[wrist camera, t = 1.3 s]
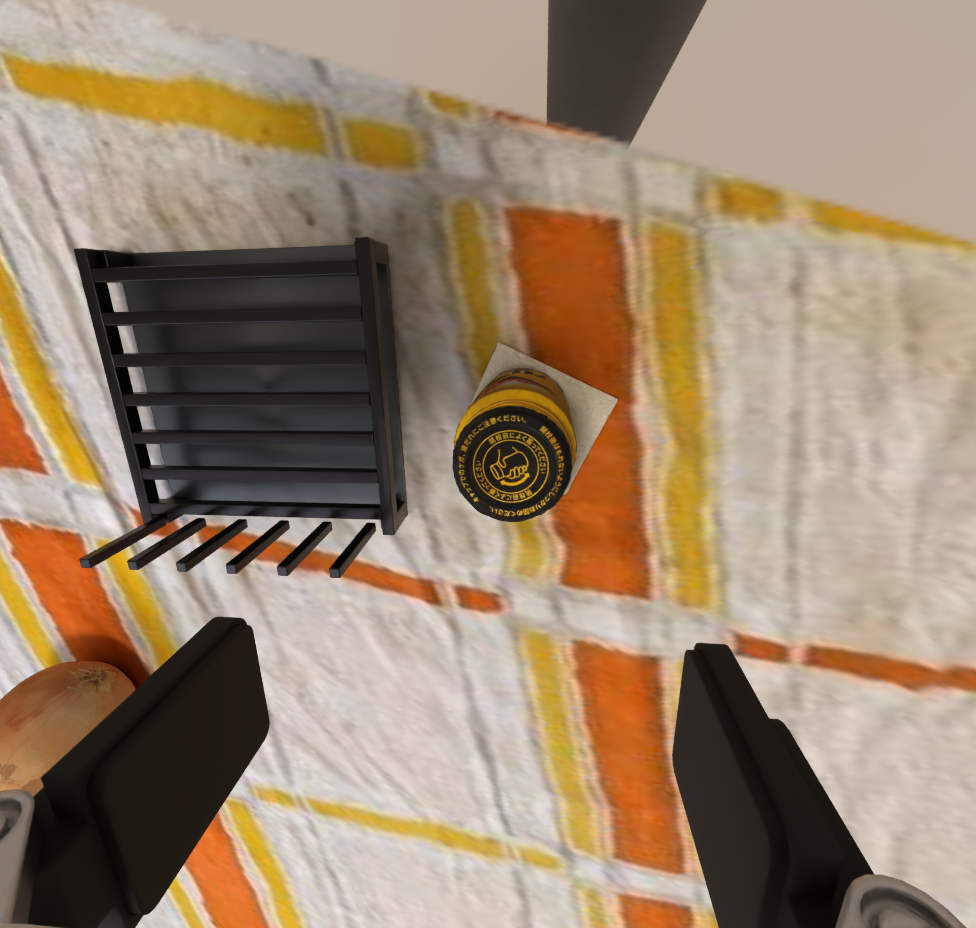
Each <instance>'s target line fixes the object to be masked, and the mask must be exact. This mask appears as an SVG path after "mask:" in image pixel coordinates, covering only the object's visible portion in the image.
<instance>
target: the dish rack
mask: <svg viewBox="0 0 976 928" xmlns="http://www.w3.org/2000/svg"><path fill="white" fill-rule="evenodd" d="M354 244H355V245H347V246H320V247H293V248H266V249H239V250H213V251H186V252H159V253H132V254H131V253H124V252H116V251H109V250H94V249H86V248H81V249H74V253H75V256H76V260H77V264H78V268H79V272H80V276H81V280H82V284H83V288H84V292H85V296H86V299H87V303H88V307H89V311H90V315H91V319H92V323H93V327H94V331H95V335H96V339H97V343H98V346H99V350H100V354H101V358H102V362H103V366H104V370H105V374H106V378H107V382H108V386H109V389H110V393H111V397H112V401H113V405H114V409H115V413H116V417H117V421H118V425H119V429H120V432H121V436H122V440H123V444H124V448H125V452H126V456H127V460H128V464H129V468H130V472H131V476H132V479H133V483H134V487H135V491H136V495H137V499H138V503H139V507H140V511H141V515H142V519H143V522H144V524H143V525H141V526H139V527H138V528H136V529H134V530H132V531H130V532H128V533H126V534H125V535H123V536H121V537H119V538H117V539H115V540H114V541H112V542H110V543H108V544H106V545H104V546H102V547H101V548H99V549H97V550H95V551H93V552H91V553H89V554H88V555H86V556H84V557H82V558H80V559H79V560H80V563H81V566H82V568H92V567H94V566H95V565H97V564H99V563H101V562H102V561H104V560H106V559H108V558H109V557H111V556H113V555H115V554H116V553H118V552H120V551H122V550H123V549H125V548H127V547H129V546H130V545H132V544H134V543H135V542H137V541H139V540H141V539H142V538H144V537H146V536H148V535H149V534H151V533H153V532H155V531H156V530H158V529H160V528H162V527H163V526H165V525H166V523H170V522H172V521H173V520H175V519H177V518H178V517H180V516H182V515H184V514H190V515H227V516H265V517H303V518H341V519H379V520H381V528H382V529H383V535H395V533H396V532H397V530H398V528H399V527H400V525H401V524H402V522H403V521H404V519H405V518H406V517H407V515H408V511H407V498H406V484H405V471H404V458H403V445H402V432H401V419H400V406H399V393H398V380H397V366H396V353H395V340H394V327H393V314H392V301H391V288H390V275H389V262H388V249H387V245H386V244H383V243H380V242H378V241H375V240H373V239H371V238H368V237H362V238H355V241H354ZM107 283H122V284H123V288H124V292H125V296H126V301H127V305H128V309H129V312H114V310H113V306H112V302H111V297H110V293H109V289H108V285H107ZM130 325H132V327H133V331H134V335H135V339H136V344H137V348H138V352H139V353H124V351H123V347H122V343H121V339H120V335H119V331H118V326H130ZM127 367H142V370H143V374H144V378H145V383H146V387H147V391H148V392H133V389H132V385H131V380H130V376H129V372H128V368H127ZM137 406H151V408H152V413H153V417H154V421H155V426H156V430H142V426H141V422H140V418H139V414H138V409H137ZM146 444H160V447H161V451H162V456H163V460H164V464H165V465H151V463H150V459H149V455H148V451H147V447H146ZM155 480H168V482H169V486H170V490H171V494H172V497H170V498H168V499H159V496H158V492H157V488H156V484H155ZM204 527H206V520H205V518H197V519H195V520H194V521H192V522H190V523H189V524H187V525H185V526H184V527H182V528H180V529H179V530H177V531H175V532H174V533H172V534H171V535H169V536H167V537H166V538H164V539H162V540H161V541H159V542H157V543H156V544H154V545H152V546H151V547H149V548H147V549H146V550H144V551H142V552H141V553H139V554H138V555H136V556H134V557H133V558H131V559H129V560H128V561H127V562H128V566H129V569H130V570H139V569H140V568H142V567H144V566H145V565H147V564H148V563H150V562H151V561H153V560H154V559H156V558H158V557H159V556H161V555H162V554H164V553H165V552H167V551H168V550H170V549H171V548H173V547H175V546H176V545H178V544H179V543H181V542H182V541H184V540H185V539H187V538H189V537H190V536H192V535H193V534H195V533H196V532H198V531H199V530H201V529H202V528H204ZM247 527H248V526H247V520H246V519H238V520H237V521H235V522H234V523H233V524H231V525H230V526H228V527H227V528H225V529H224V530H222V531H221V532H219V533H218V534H217V535H215V536H214V537H212V538H211V539H209V540H208V541H206V542H205V543H204V544H202V545H201V546H199V547H198V548H196V549H195V550H193V551H192V552H191V553H189V554H188V555H186V556H185V557H183V558H182V559H180V560H179V561H177V562H176V566H177V570H178V571H179V572H187V571H189V570H190V569H192V568H193V567H194V566H196V565H197V564H198V563H200V562H201V561H202V560H204V559H205V558H206V557H208V556H209V555H210V554H212V553H213V552H215V551H216V550H217V549H219V548H220V547H221V546H223V545H224V544H225V543H227V542H228V541H229V540H231V539H232V538H234V537H235V536H236V535H238V534H239V533H240V532H242V531H243V530H244V529H246V528H247ZM289 528H290V527H289V521H285V520H281V521H279V522H278V523H277V524H275V525H274V526H273V527H272V528H270V529H269V530H268V531H267V532H266V533H264V534H263V535H262V536H261V537H259V538H258V539H257V540H256V541H254V542H253V543H252V544H251V545H249V546H248V547H247V548H246V549H244V550H243V551H242V552H241V553H239V554H238V555H237V556H236V557H234V558H233V559H232V560H231V561H230V562H228V563H227V564H226V569H227V573H228V574H237V573H238V572H240V571H241V570H242V569H243V568H244V567H245V566H246V565H248V564H249V563H250V562H251V561H252V560H253V559H255V558H256V557H257V556H258V555H259V554H260V553H262V552H263V551H264V550H265V549H266V548H267V547H268V546H270V545H271V544H272V543H273V542H274V541H275V540H277V539H278V538H279V537H280V536H281V535H282V534H284V533H285V532H286V531H287V530H288V529H289ZM331 530H332V523H331V522H322V523H321V524H320V525H319V526H318V527H317V528H316V529H315V530H314V531H313V532H312V533H311V534H310V535H309V536H308V537H307V538H306V539H305V540H304V541H303V542H302V543H301V544H300V545H299V546H298V547H297V548H295V549H294V550H293V551H292V552H291V553H290V554H289V555H288V556H287V557H286V558H285V559H284V560H283V561H282V562H281V563H280V564H279V565H278V566H277V571H278V575H279V576H288V575H289V574H290V573H291V572H292V571H293V570H294V569H295V568H296V567H297V566H298V565H299V564H300V563H301V562H302V561H303V560H304V559H305V557H306V556H307V555H308V554H309V553H310V552H311V551H312V550H313V549H314V548H315V547H316V546H317V545H318V544H319V543H320V542H321V541H322V540H323V539H324V538H325V537H326V536H327V534H328V533H329V532H330V531H331ZM375 531H376V526H375V523H366V525H365V526H364V527H363V528H362V529H361V531H360V532H359V533H358V534H357V535H356V537H355V538H354V539H353V540H352V542H351V543H350V544H349V545H348V546H347V548H346V549H345V550H344V551H343V552H342V554H341V555H340V556H339V557H338V559H337V560H336V561H335V562H334V563H333V565H332V566H331V567H330V568H329V571H330V577H331V578H341V576H342V575H343V574H344V572H345V571H346V570H347V568H348V567H349V566H350V564H351V563H352V562H353V560H354V559H355V558H356V556H357V555H358V554H359V552H360V551H361V550H362V548H363V547H364V546H365V545H366V543H367V542H368V541H369V539H370V538H371V537H372V535H373V534H374V533H375Z"/></svg>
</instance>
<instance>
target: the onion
mask: <svg viewBox="0 0 976 928" xmlns="http://www.w3.org/2000/svg"><path fill="white" fill-rule="evenodd" d="M135 690H136V689H135V687H134V685H133V682H132V681H131V680H130V679H129V678H128V677H127V676H126V675H125V674H124V673H123V672H122V671H120V670H119V669H118V668H116V667H114V666H112V665H110V664H107V663H103V662H96V661H76V662H66V663H61V664H58V665H55V666H52V667H49V668H46V669H44V670H42V671H40V672H38V673H36V674H34V675H32V676H30V677H29V678H27V679H25V680H24V681H22V682H21V683H20V684H18V685H17V686H16V687H14V688H13V689H12V690H11V691H10V692H8V693H7V694H6V695H5V696H4V697H3V698H2V699H1V700H0V791H3V790H12V789H20V790H24V791H28V792H29V793H30V794H31V795H32V796H33V797H34V796H35V795H36V794H37V793H38V792H39V791H40V790H41V789H42V788H43V787H44V786H43V783H42V780H41V777H42V776H43V775H44V774H45V773H46V772H47V771H48V770H50V769H51V768H52V767H53V766H54V765H55V764H56V763H57V762H58V761H59V760H60V759H61V758H62V757H64V756H65V755H66V754H67V753H68V752H69V751H70V750H71V749H72V748H73V747H74V746H75V745H77V744H78V743H79V742H80V741H81V740H82V739H83V738H84V737H85V736H86V735H87V734H88V733H89V732H91V731H92V730H93V729H94V728H95V727H96V726H97V725H98V724H99V723H100V722H101V721H102V720H104V719H105V718H106V717H107V716H108V715H109V714H110V713H111V712H112V711H113V710H114V709H115V708H116V707H118V706H119V705H120V704H121V703H122V702H123V701H124V700H125V699H126V698H127V697H128V696H129V695H131V694H132V693H133V692H134V691H135Z"/></svg>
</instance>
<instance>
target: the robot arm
mask: <svg viewBox="0 0 976 928" xmlns="http://www.w3.org/2000/svg"><path fill="white" fill-rule="evenodd" d="M269 724H270V722H269V715H268V710H267V704H266V699H265V693H264V688H263V682H262V677H261V671H260V666H259V661H258V655H257V650H256V644H255V639H254V633H253V629H252V627H251V626H249V625H247V623H246V621H245V620H244V619H242V618H232V617H215V618H213V619H212V620H210V621H209V622H208V623H207V624H206V625H205V626H204V627H203V628H202V629H201V630H200V631H199V632H197V633H196V634H195V635H194V636H193V637H192V638H191V639H190V640H189V641H188V642H187V643H186V644H185V645H183V646H182V647H181V648H180V649H179V650H178V651H177V652H176V653H175V654H174V655H173V656H172V657H170V658H169V659H168V660H167V661H166V662H165V663H164V664H163V665H162V666H161V667H160V668H159V669H158V670H156V671H155V672H154V673H153V674H152V675H151V676H150V677H149V678H148V679H147V680H146V681H145V682H143V683H142V684H141V685H140V686H139V687H138V688H137V689H136V690H135V691H134V692H133V693H132V694H131V695H129V696H128V697H127V698H126V699H125V700H124V701H123V702H122V703H121V704H120V705H119V706H118V707H116V708H115V709H114V710H113V711H112V712H111V713H110V714H109V715H108V716H107V717H106V718H105V719H104V720H102V721H101V722H100V723H99V724H98V725H97V726H96V727H95V728H94V729H93V730H92V731H91V732H89V733H88V734H87V735H86V736H85V737H84V738H83V739H82V740H81V741H80V742H79V743H78V744H77V745H75V746H74V747H73V748H72V749H71V750H70V751H69V752H68V753H67V754H66V755H65V756H64V757H62V758H61V759H60V760H59V761H58V762H57V763H56V764H55V765H54V766H53V767H52V768H51V769H50V770H48V771H47V772H46V773H45V774H44V775H43V776H42V777H41V780H42V783H43V786H44V787H43V788H42V789H41V790H40V791H39V792H38V793H37V794H36V795H35V796H34V797H33V796H32V795H31V794H30V793H29V792H28V791H24V790H20V789H12V790H3V791H0V928H135V927H136V926H137V924H138V923H139V921H140V920H141V918H142V917H143V915H147V914H149V913H150V912H151V911H152V910H153V909H154V908H155V907H156V906H157V904H158V903H159V902H160V900H161V898H162V897H163V895H164V894H165V892H166V891H167V889H168V888H169V886H170V885H171V883H172V882H173V880H174V879H175V877H176V875H177V874H178V872H179V871H180V869H181V868H182V866H183V865H184V863H185V862H186V860H187V859H188V857H189V855H190V854H191V852H192V851H193V849H194V848H195V846H196V845H197V843H198V842H199V840H200V839H201V837H202V835H203V834H204V832H205V831H206V829H207V828H208V826H209V825H210V823H211V822H212V820H213V819H214V817H215V815H216V814H217V812H218V811H219V809H220V808H221V806H222V805H223V803H224V802H225V800H226V799H227V797H228V796H229V794H230V792H231V791H232V789H233V788H234V786H235V785H236V783H237V782H238V780H239V779H240V777H241V776H242V774H243V772H244V771H245V769H246V768H247V766H248V765H249V763H250V762H251V760H252V759H253V757H254V756H255V754H256V752H257V751H258V749H259V748H260V746H261V745H262V743H263V742H264V740H265V738H266V736H267V734H268V730H269ZM672 757H673V768H674V773H675V776H676V780H677V783H678V787H679V790H680V794H681V797H682V801H683V804H684V808H685V811H686V815H687V818H688V822H689V825H690V829H691V832H692V836H693V839H694V843H695V846H696V850H697V853H698V856H699V860H700V863H701V867H702V870H703V874H704V877H705V881H706V884H707V888H708V891H709V895H710V898H711V902H712V905H713V909H714V912H715V916H716V919H717V923H718V926H719V928H966V927H965V926H964V925H963V924H962V923H961V922H960V921H959V920H958V919H957V918H956V917H955V916H954V915H953V914H952V913H951V912H950V911H949V910H948V909H947V908H945V907H944V906H943V905H941V904H940V903H939V902H937V901H936V900H934V899H933V898H932V897H930V896H929V895H928V894H926V893H925V892H923V891H921V890H919V889H917V888H916V887H914V886H912V885H910V884H908V883H906V882H904V881H902V880H898V879H895V878H892V877H888V876H885V875H874V873H873V871H872V870H871V868H870V866H869V865H868V863H867V861H866V860H865V858H864V856H863V854H862V853H861V851H860V849H859V848H858V846H857V844H856V843H855V841H854V839H853V838H852V836H851V834H850V832H849V831H848V829H847V827H846V826H845V824H844V822H843V821H842V819H841V817H840V816H839V814H838V812H837V810H836V809H835V807H834V805H833V804H832V802H831V800H830V799H829V797H828V795H827V794H826V792H825V790H824V789H823V787H822V785H821V783H820V782H819V780H818V778H817V777H816V775H815V773H814V772H813V770H812V768H811V767H810V765H809V763H808V761H807V760H806V758H805V756H804V755H803V753H802V751H801V750H800V748H799V746H798V745H797V743H796V741H795V739H794V738H793V736H792V734H791V733H790V731H789V730H788V728H787V727H786V725H785V724H784V723H783V722H782V721H780V720H779V719H769V717H768V716H767V714H766V712H765V710H764V709H763V707H762V705H761V703H760V701H759V700H758V698H757V696H756V694H755V692H754V691H753V689H752V687H751V685H750V684H749V682H748V680H747V678H746V676H745V675H744V673H743V671H742V669H741V667H740V666H739V664H738V662H737V660H736V658H735V657H734V655H733V653H732V651H731V650H730V648H729V647H728V646H727V645H725V644H708V643H697V644H696V645H695V647H694V650H686V652H685V656H684V664H683V672H682V680H681V688H680V696H679V704H678V712H677V720H676V728H675V736H674V744H673V754H672Z"/></svg>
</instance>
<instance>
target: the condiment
mask: <svg viewBox="0 0 976 928" xmlns="http://www.w3.org/2000/svg"><path fill="white" fill-rule="evenodd" d="M617 401H618V399H617V398H614V397H612V396H610V395H608V394H606V393H604V392H602V391H600V390H598V389H596V388H593V387H591V386H589V385H587V384H585V383H583V382H581V381H579V380H577V379H575V378H573V377H571V376H568V375H566V374H564V373H562V372H560V371H558V370H556V369H554V368H552V367H550V366H548V365H546V364H543V363H541V362H539V361H537V360H535V359H533V358H531V357H529V356H527V355H525V354H523V353H520V352H518V351H516V350H514V349H512V348H510V347H508V346H506V345H504V344H501V343H499V342H498V344H497V346H496V348H495V350H494V353H493V355H492V357H491V359H490V362H489V364H488V366H487V368H486V371H485V373H484V375H483V377H482V380H481V382H480V384H479V386H478V389H477V391H476V393H475V395H474V397H473V400H472V402H471V404H470V406H469V407H468V410H467V411H466V413H465V415H464V416H463V418H462V420H461V421H460V423H459V424H458V428H457V431H456V435H455V440H454V450H453V471H454V478H455V480H456V484H457V486H458V488H459V491H460V493H461V494H462V495H463V496H464V497H465V498H466V500H467V501H468V502H469V503H470V504H471V505H472V506H473V507H474V508H475V509H476V510H477V511H478V512H480V513H482V514H484V515H487V516H489V517H492V518H494V519H497V520H500V521H507V522H521V521H525V520H527V519H530V518H533V517H535V516H538V515H542V514H543V513H545V512H546V511H547V510H549V509H551V508H552V507H554V506H555V505H556V503H557V502H558V501H559V500H560V498H561V497H562V496H563V494H564V495H566V494H567V492H568V490H569V488H570V486H571V484H572V482H573V480H574V479H575V477H576V475H577V473H578V471H579V469H580V467H581V466H582V464H583V462H584V460H585V458H586V456H587V454H588V453H589V451H590V449H591V447H592V446H593V444H594V441H595V439H596V438H597V436H598V435H599V433H600V431H601V429H602V428H603V426H604V424H605V422H606V420H607V418H608V416H609V415H610V413H611V411H612V410H613V408H614V406H615V404H616V402H617Z"/></svg>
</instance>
